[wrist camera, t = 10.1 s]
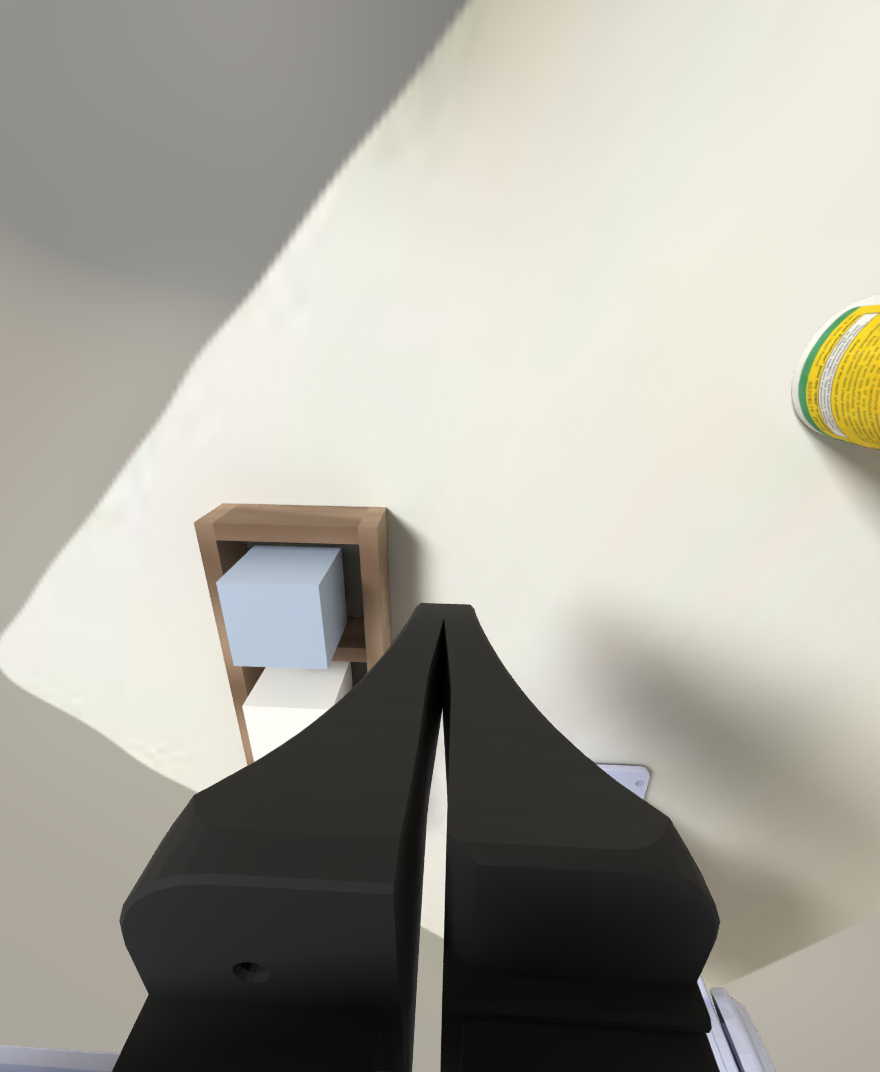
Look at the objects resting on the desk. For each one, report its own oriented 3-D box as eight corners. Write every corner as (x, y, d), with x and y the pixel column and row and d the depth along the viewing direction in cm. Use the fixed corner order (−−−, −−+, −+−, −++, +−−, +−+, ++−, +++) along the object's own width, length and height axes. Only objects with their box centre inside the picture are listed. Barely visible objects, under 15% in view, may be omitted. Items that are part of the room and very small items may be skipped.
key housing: (397, 794, 28) (391, 833, 26) (277, 788, 29) (261, 826, 26) (386, 507, 21) (377, 527, 19) (222, 503, 21) (193, 522, 19)
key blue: (347, 621, 22) (327, 669, 19) (267, 619, 22) (233, 665, 19) (341, 547, 20) (318, 585, 17) (254, 545, 20) (216, 582, 17)
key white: (355, 717, 24) (339, 774, 21) (283, 714, 24) (255, 770, 21) (350, 658, 23) (332, 709, 19) (273, 655, 23) (242, 706, 20)
